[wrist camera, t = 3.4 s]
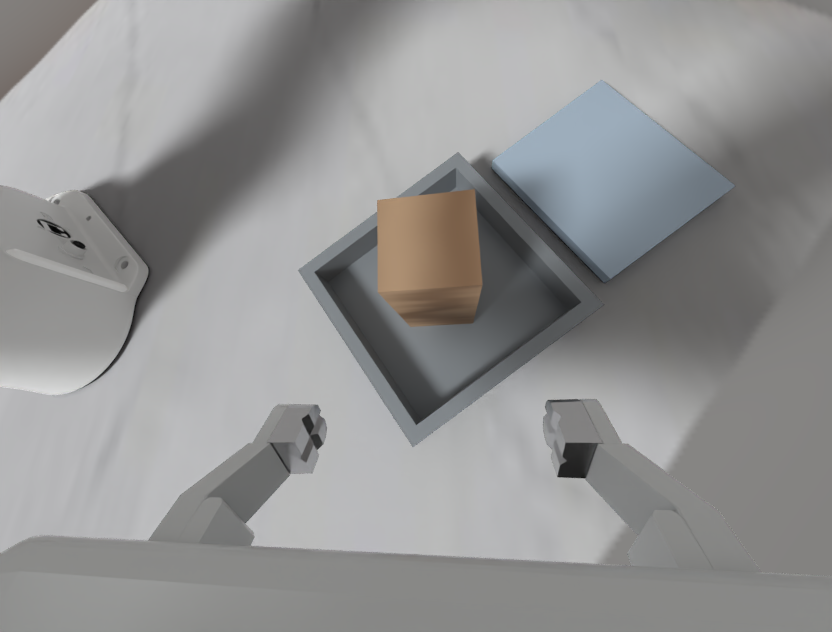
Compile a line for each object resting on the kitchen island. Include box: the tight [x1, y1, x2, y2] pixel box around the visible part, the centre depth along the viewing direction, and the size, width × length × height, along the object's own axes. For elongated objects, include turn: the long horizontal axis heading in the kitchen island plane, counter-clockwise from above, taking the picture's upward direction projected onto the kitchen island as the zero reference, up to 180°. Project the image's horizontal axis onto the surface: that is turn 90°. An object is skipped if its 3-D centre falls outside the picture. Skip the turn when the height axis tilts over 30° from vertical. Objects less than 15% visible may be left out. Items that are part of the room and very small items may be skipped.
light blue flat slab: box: [492, 80, 735, 283], centre depth 25 cm, size 14×12×1 cm
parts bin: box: [298, 152, 604, 447], centre depth 24 cm, size 16×16×4 cm
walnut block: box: [377, 189, 482, 327], centre depth 20 cm, size 5×5×10 cm
